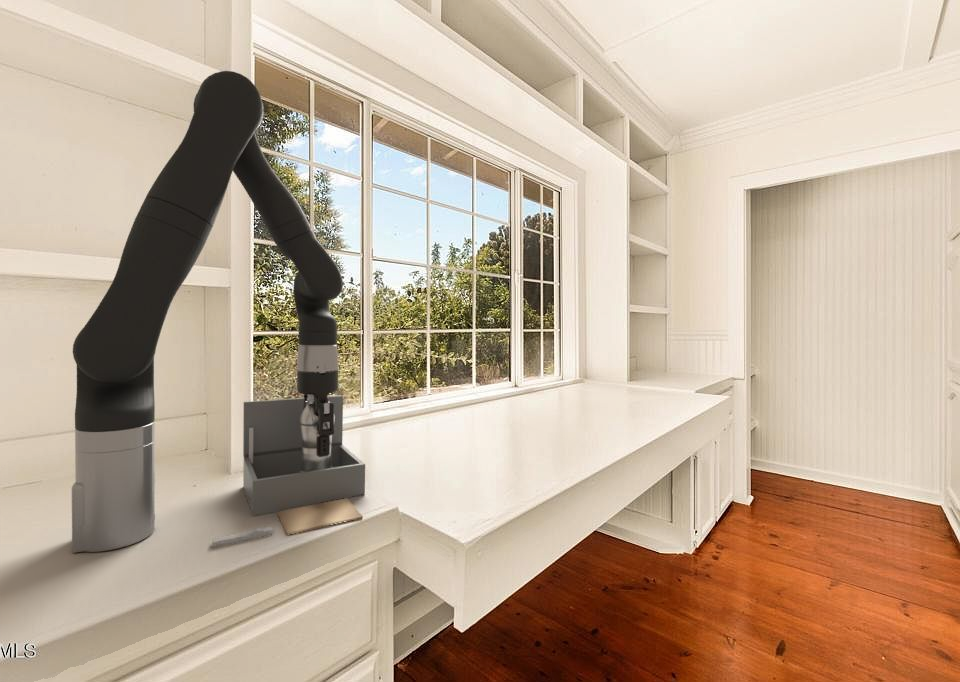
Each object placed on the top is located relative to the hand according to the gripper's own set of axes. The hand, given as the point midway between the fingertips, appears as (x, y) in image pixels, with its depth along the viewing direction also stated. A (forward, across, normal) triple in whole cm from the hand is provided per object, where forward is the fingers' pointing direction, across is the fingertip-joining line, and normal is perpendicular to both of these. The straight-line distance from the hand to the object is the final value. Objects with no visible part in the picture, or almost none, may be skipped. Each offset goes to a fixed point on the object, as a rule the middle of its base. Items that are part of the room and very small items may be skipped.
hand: (317, 450), depth 87 cm
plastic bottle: (+8, 0, 0) cm, 9 cm away
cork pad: (+8, +12, -2) cm, 14 cm away
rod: (+8, +14, -14) cm, 22 cm away
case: (+8, -2, -2) cm, 9 cm away
